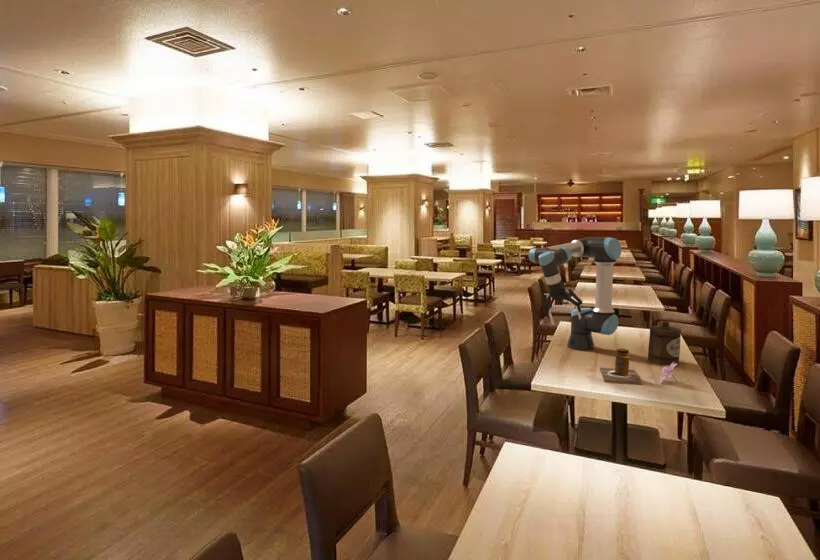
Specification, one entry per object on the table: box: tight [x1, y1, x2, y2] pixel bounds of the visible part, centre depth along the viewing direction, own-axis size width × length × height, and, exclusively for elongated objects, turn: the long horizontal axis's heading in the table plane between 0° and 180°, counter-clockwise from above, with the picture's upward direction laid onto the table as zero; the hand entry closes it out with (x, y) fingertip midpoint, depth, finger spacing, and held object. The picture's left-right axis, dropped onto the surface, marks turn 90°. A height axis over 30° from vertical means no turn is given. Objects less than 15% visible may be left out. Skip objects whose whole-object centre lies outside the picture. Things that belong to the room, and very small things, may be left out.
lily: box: [658, 362, 678, 384], centre depth 241 cm, size 12×12×10 cm
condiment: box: [609, 348, 632, 378], centre depth 248 cm, size 7×8×12 cm
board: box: [599, 366, 643, 386], centre depth 249 cm, size 20×16×1 cm
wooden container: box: [647, 320, 682, 367], centre depth 273 cm, size 15×15×22 cm
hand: (566, 320), depth 263 cm, fingers open, 13 cm apart
